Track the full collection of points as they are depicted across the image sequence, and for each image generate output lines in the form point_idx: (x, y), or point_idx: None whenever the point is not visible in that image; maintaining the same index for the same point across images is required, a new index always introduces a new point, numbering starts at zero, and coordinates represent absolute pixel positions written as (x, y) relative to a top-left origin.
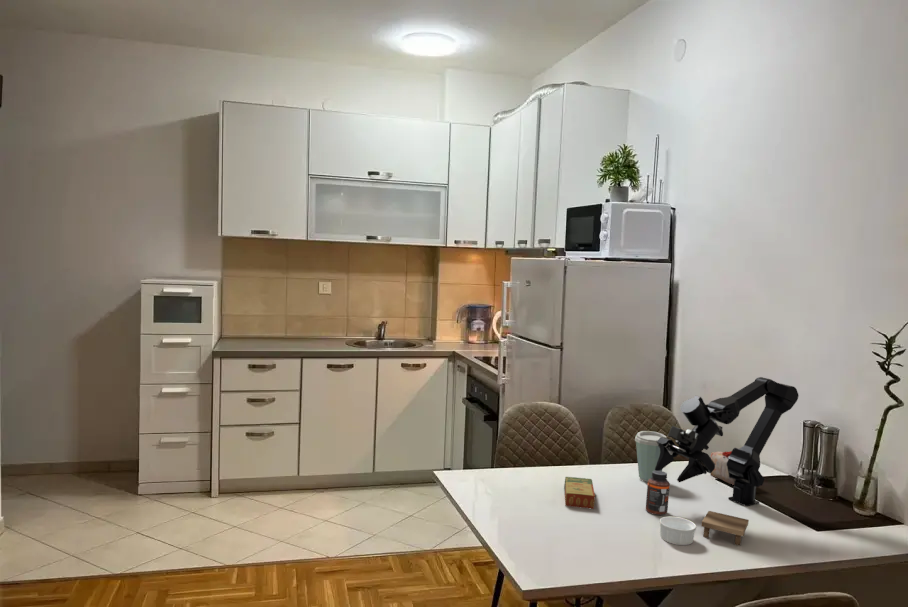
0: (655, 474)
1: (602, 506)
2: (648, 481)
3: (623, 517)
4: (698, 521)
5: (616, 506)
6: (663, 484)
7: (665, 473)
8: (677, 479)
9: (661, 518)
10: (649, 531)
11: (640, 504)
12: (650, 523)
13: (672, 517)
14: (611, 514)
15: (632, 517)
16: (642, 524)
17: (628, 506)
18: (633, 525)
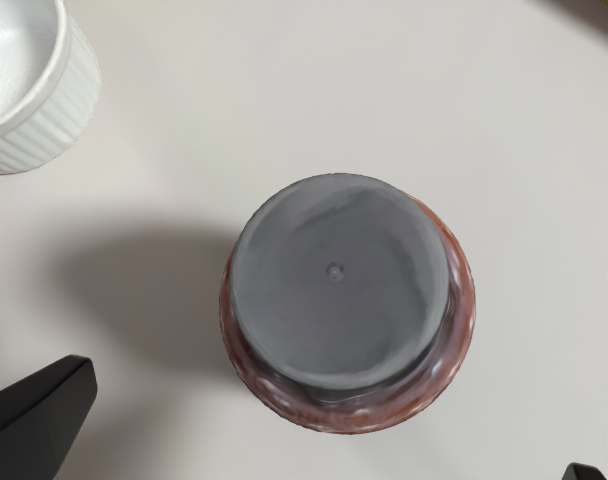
0: (328, 177)
1: (586, 55)
2: (417, 200)
3: (376, 50)
4: (85, 473)
5: (553, 142)
6: (234, 246)
7: (263, 326)
8: (77, 355)
9: (58, 6)
10: (161, 42)
11: (523, 346)
12: (232, 131)
13: (30, 90)
14: (445, 18)
15: (352, 100)
16: (245, 77)
17: (521, 223)
18: (261, 21)
